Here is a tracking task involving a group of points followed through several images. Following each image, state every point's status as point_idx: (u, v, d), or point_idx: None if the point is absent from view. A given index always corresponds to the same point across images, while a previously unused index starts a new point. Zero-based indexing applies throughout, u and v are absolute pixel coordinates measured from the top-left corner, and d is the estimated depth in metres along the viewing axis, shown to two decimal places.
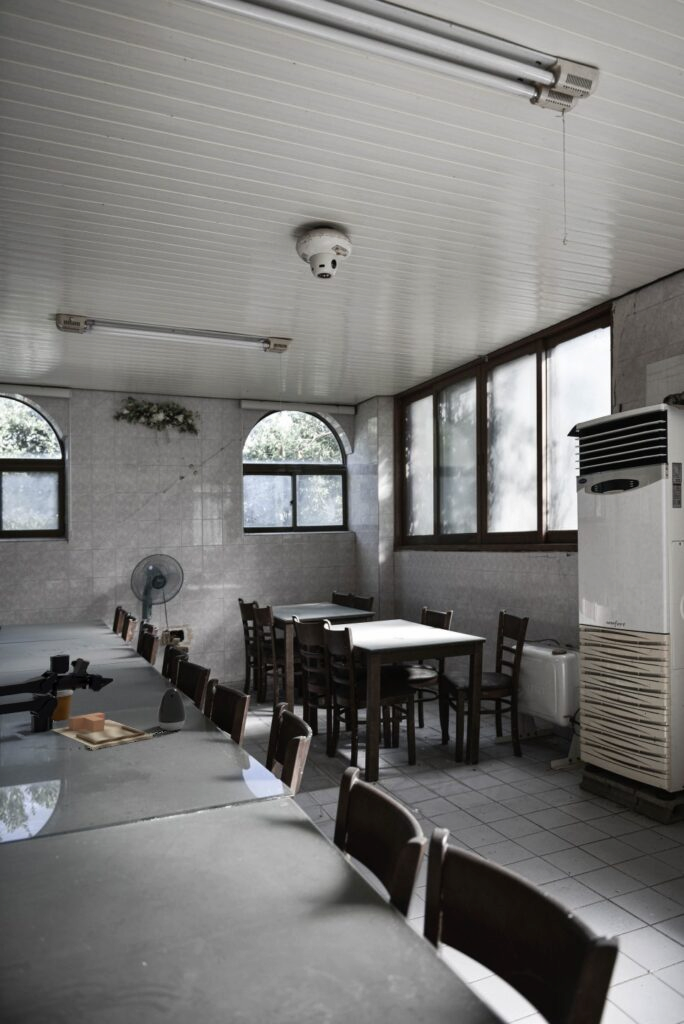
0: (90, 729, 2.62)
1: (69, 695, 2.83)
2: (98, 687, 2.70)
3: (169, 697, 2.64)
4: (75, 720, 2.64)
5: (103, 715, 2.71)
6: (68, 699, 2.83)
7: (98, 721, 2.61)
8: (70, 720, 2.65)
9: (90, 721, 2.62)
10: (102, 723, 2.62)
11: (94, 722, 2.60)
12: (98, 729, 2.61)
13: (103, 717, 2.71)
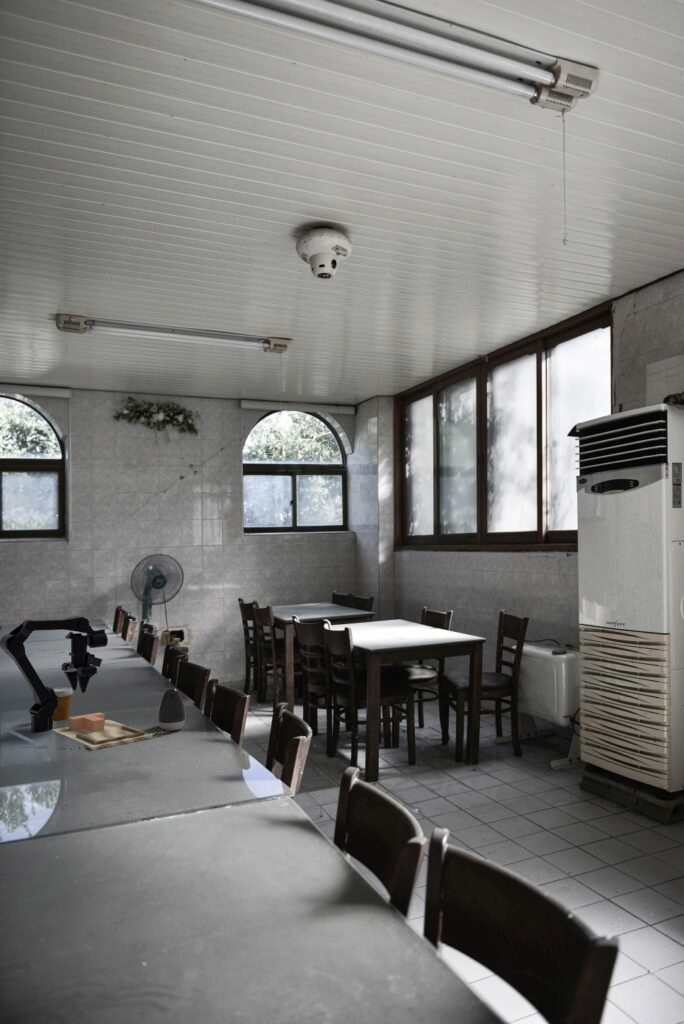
0: (90, 729, 2.62)
1: (69, 695, 2.83)
2: (85, 673, 2.67)
3: (169, 697, 2.64)
4: (75, 720, 2.64)
5: (103, 715, 2.71)
6: (68, 699, 2.83)
7: (98, 721, 2.61)
8: (70, 720, 2.65)
9: (90, 721, 2.62)
10: (102, 723, 2.62)
11: (94, 722, 2.60)
12: (98, 729, 2.61)
13: (103, 717, 2.71)
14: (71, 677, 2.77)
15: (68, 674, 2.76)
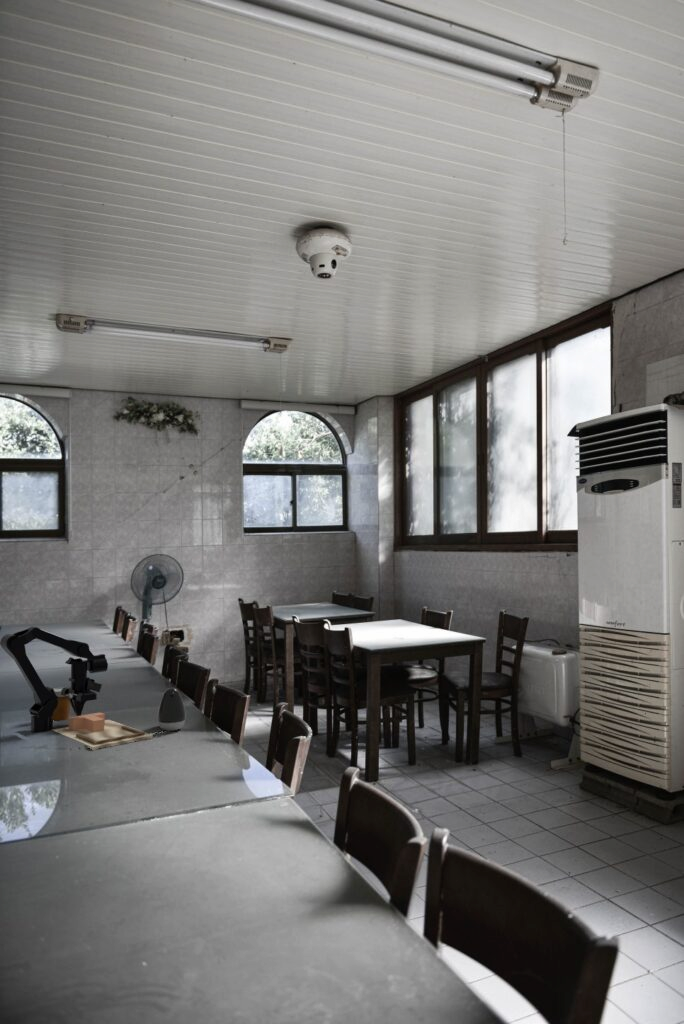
0: (90, 729, 2.62)
1: (69, 695, 2.83)
2: (85, 699, 2.66)
3: (169, 697, 2.64)
4: (75, 720, 2.64)
5: (103, 715, 2.71)
6: None
7: (98, 721, 2.61)
8: (70, 720, 2.65)
9: (90, 721, 2.62)
10: (102, 723, 2.62)
11: (94, 722, 2.60)
12: (98, 729, 2.61)
13: (103, 717, 2.71)
14: None
15: None
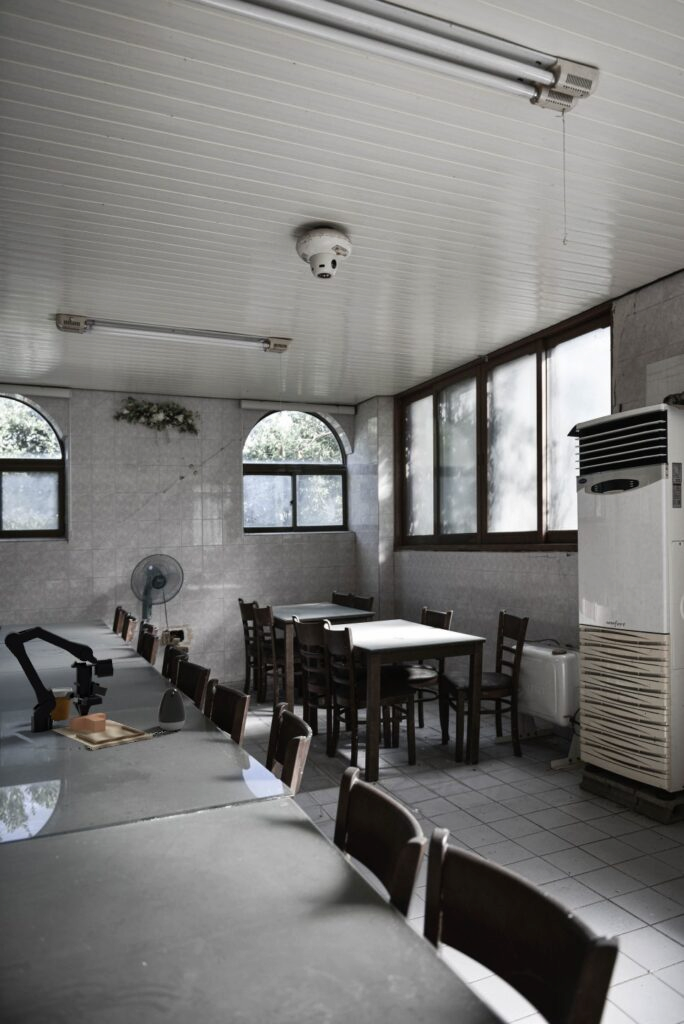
0: (91, 729, 2.61)
1: None
2: (91, 704, 2.63)
3: (169, 697, 2.64)
4: (76, 720, 2.63)
5: (104, 715, 2.70)
6: None
7: (99, 721, 2.61)
8: (71, 720, 2.64)
9: (91, 721, 2.61)
10: (103, 723, 2.62)
11: (95, 722, 2.60)
12: (99, 730, 2.60)
13: (104, 717, 2.70)
14: None
15: None
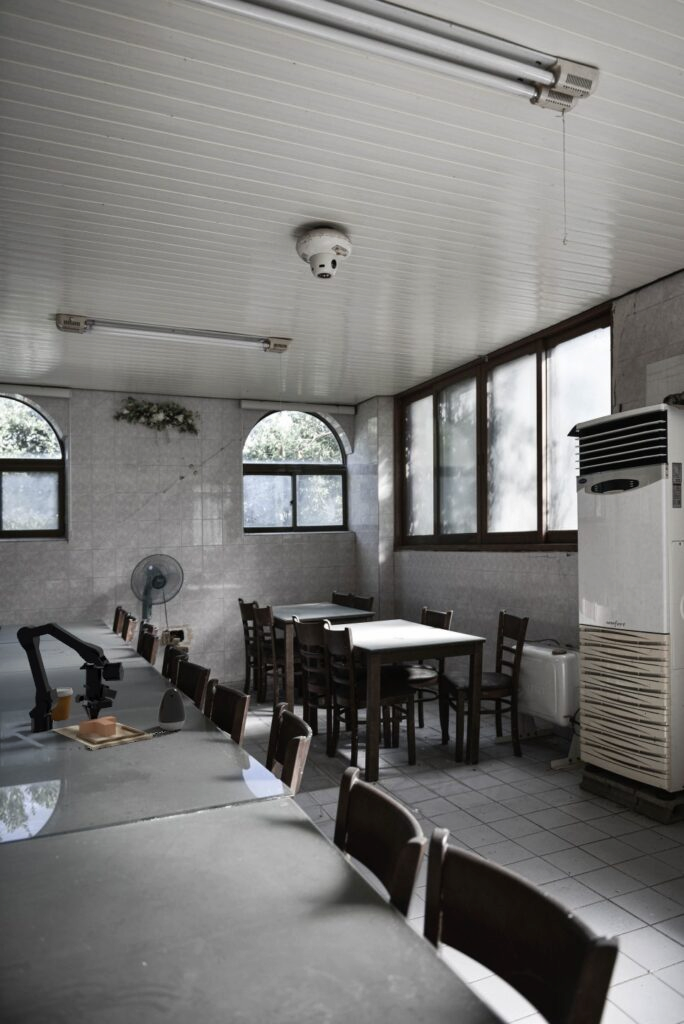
0: (101, 733, 2.55)
1: (69, 695, 2.83)
2: (101, 707, 2.57)
3: (169, 697, 2.64)
4: (86, 724, 2.57)
5: (114, 719, 2.64)
6: (68, 699, 2.83)
7: (110, 725, 2.55)
8: (81, 724, 2.58)
9: (101, 725, 2.55)
10: (114, 727, 2.56)
11: (106, 726, 2.54)
12: (110, 733, 2.55)
13: (114, 721, 2.64)
14: None
15: None
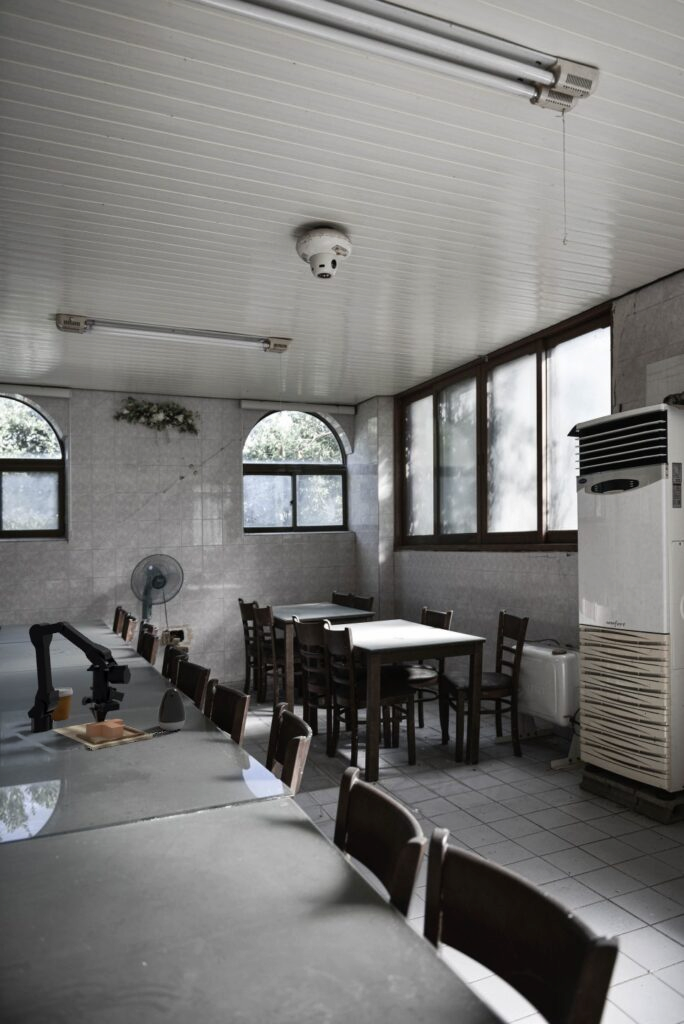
0: (109, 736, 2.51)
1: (69, 695, 2.83)
2: (108, 709, 2.53)
3: (169, 697, 2.64)
4: (93, 727, 2.53)
5: (121, 721, 2.60)
6: (68, 699, 2.83)
7: (117, 728, 2.50)
8: (88, 727, 2.54)
9: (109, 728, 2.51)
10: (121, 730, 2.51)
11: (113, 729, 2.49)
12: None
13: (121, 724, 2.60)
14: None
15: (93, 711, 2.59)
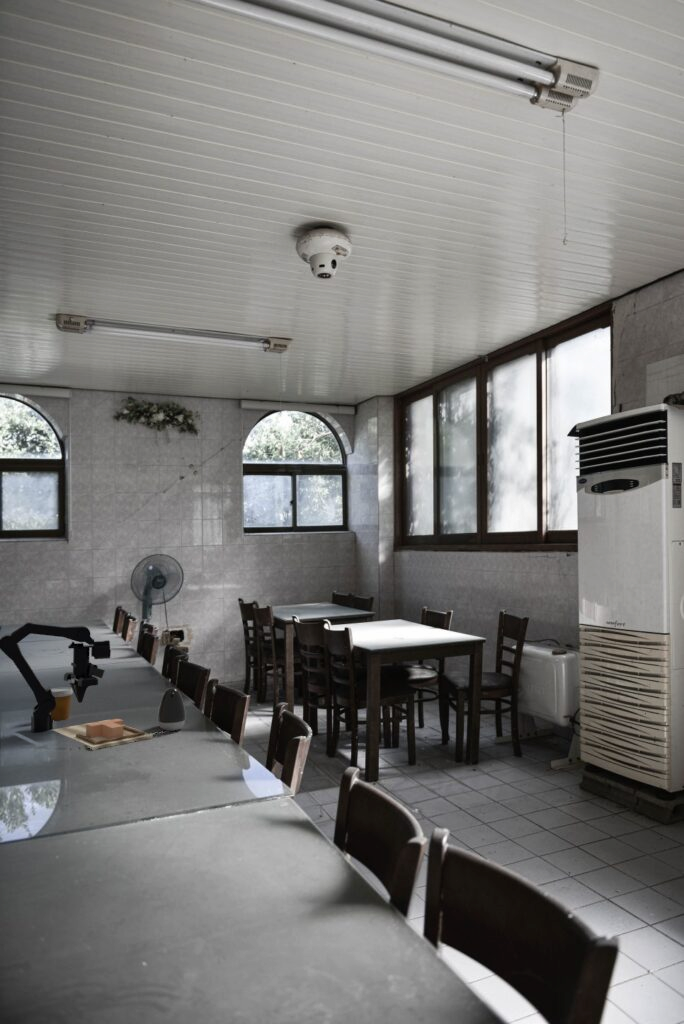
0: (109, 736, 2.51)
1: (69, 695, 2.83)
2: (86, 684, 2.62)
3: (169, 697, 2.64)
4: (93, 727, 2.53)
5: (121, 721, 2.60)
6: (68, 699, 2.83)
7: (117, 728, 2.50)
8: (88, 727, 2.54)
9: (109, 728, 2.51)
10: (121, 730, 2.51)
11: (113, 729, 2.49)
12: None
13: (121, 723, 2.60)
14: None
15: (74, 686, 2.69)
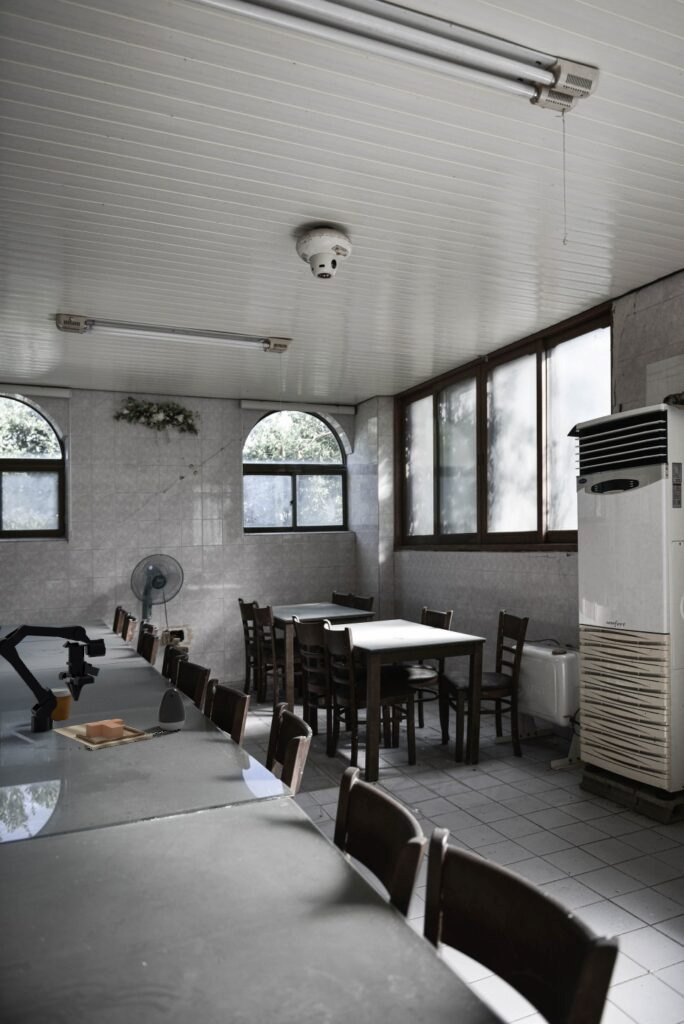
0: (109, 736, 2.51)
1: (69, 695, 2.83)
2: (83, 683, 2.64)
3: (169, 697, 2.64)
4: (93, 727, 2.53)
5: (121, 721, 2.60)
6: (68, 699, 2.83)
7: (117, 728, 2.50)
8: (88, 727, 2.54)
9: (109, 728, 2.51)
10: (121, 730, 2.51)
11: (113, 729, 2.49)
12: None
13: (121, 723, 2.60)
14: None
15: (69, 685, 2.70)
